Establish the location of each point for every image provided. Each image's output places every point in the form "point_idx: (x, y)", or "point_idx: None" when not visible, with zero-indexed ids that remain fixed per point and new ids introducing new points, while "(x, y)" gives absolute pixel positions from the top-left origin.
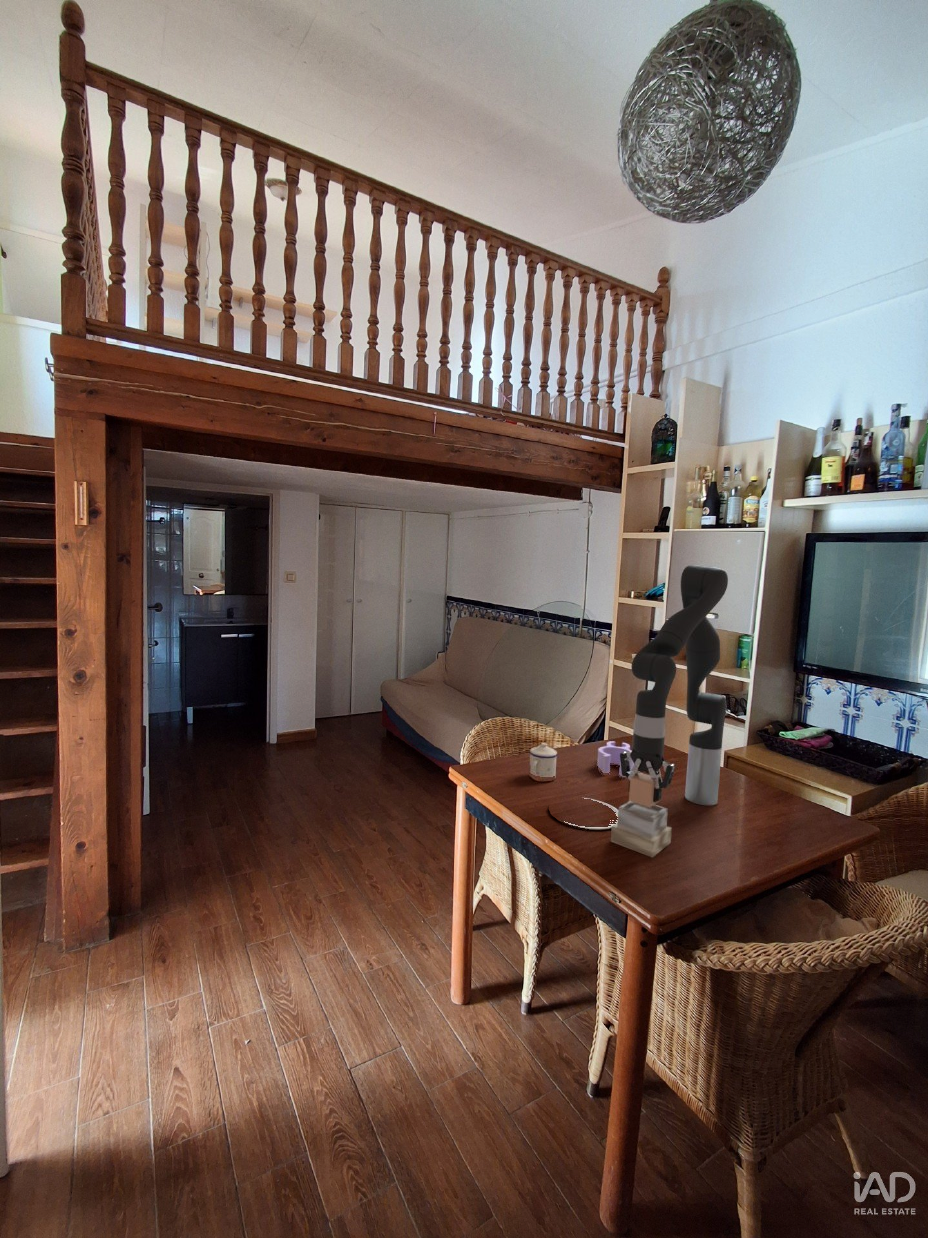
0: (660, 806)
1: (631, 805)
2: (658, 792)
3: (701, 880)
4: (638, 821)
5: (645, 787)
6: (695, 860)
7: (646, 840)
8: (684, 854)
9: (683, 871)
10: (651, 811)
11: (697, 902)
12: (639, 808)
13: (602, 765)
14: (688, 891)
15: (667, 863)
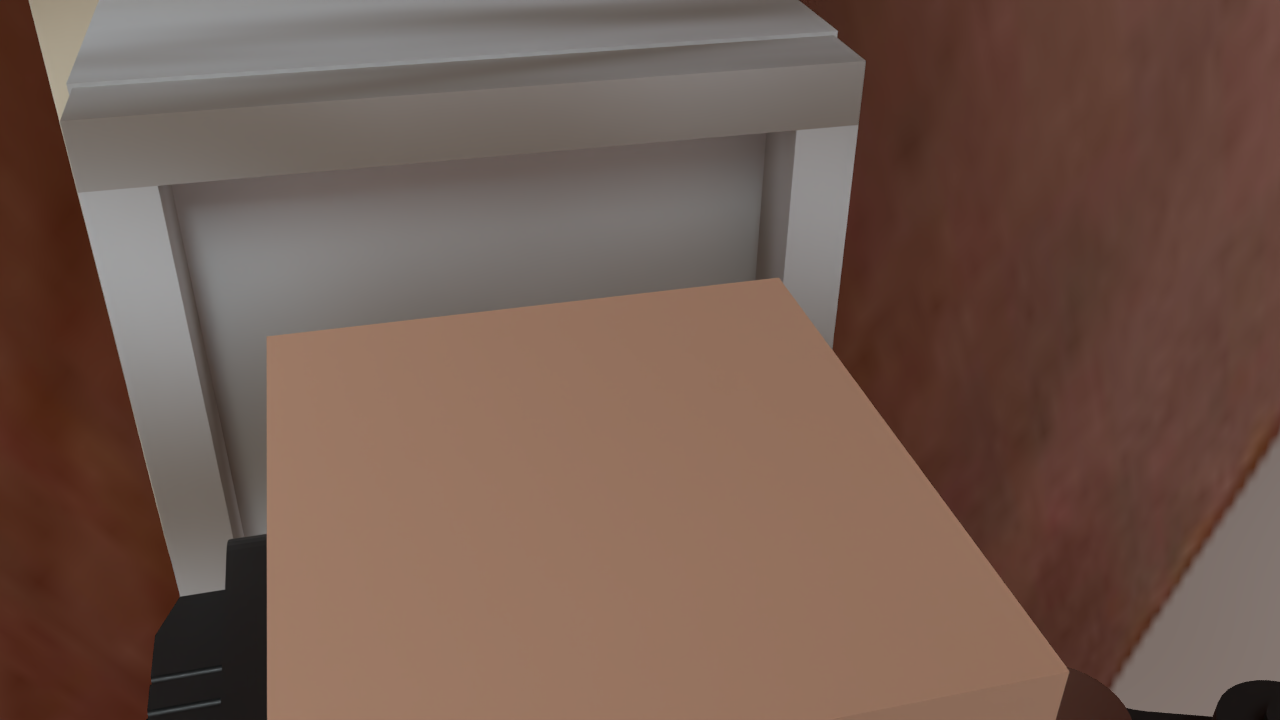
0: (719, 80)
1: (201, 347)
2: None
3: (1152, 352)
4: None
5: None
6: (1066, 43)
7: None
8: (941, 5)
9: (1002, 343)
10: (600, 249)
11: (1150, 612)
12: (374, 310)
13: None
14: (1083, 556)
15: (848, 334)
